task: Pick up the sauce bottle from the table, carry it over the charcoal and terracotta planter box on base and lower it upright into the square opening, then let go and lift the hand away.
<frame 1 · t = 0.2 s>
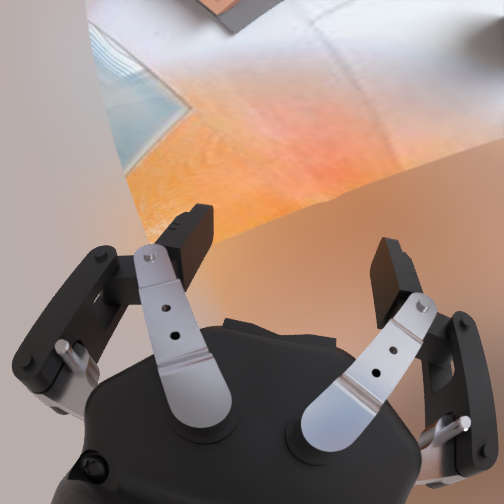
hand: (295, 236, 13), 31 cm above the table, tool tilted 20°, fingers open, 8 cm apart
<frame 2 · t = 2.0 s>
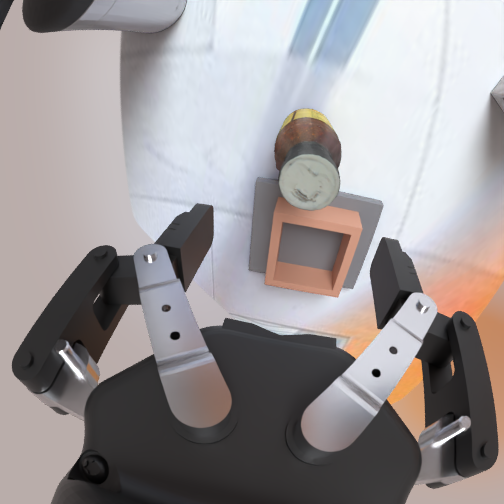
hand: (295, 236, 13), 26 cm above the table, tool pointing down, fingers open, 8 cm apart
sauce bottle: (308, 128, 33), on the table
planter box on base: (311, 235, 42), on the table
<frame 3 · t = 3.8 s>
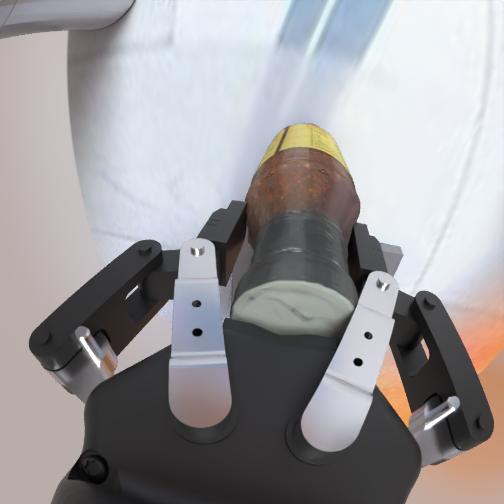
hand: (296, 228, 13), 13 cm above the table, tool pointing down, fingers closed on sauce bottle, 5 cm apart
sauce bottle: (306, 151, 24), on the table, touching gripper
planter box on base: (308, 286, 33), on the table
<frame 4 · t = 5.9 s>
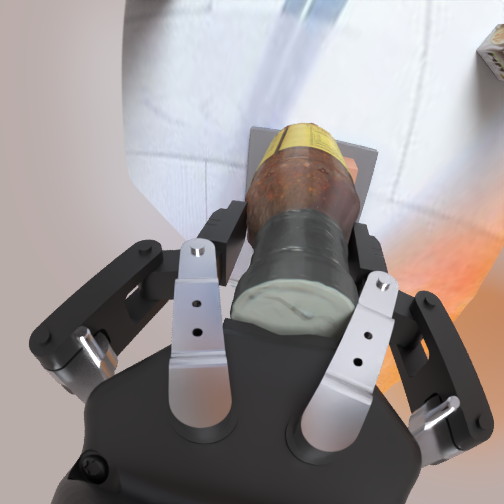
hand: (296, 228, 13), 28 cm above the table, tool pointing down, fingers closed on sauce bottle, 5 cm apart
sauce bottle: (306, 151, 24), point 14 cm above the table, touching gripper
coffee box: (498, 51, 18), on the table
planter box on base: (307, 185, 41), on the table
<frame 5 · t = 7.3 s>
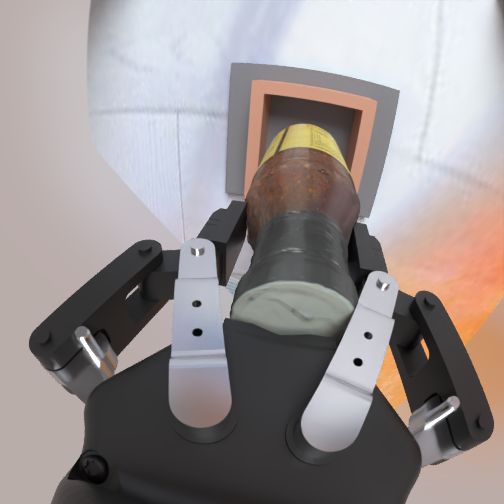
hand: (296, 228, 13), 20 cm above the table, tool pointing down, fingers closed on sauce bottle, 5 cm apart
sauce bottle: (307, 151, 24), point 7 cm above the table, touching gripper
planter box on base: (308, 137, 29), on the table
when the fingers open (16 cm above the table, at t = 8.5 s): sauce bottle drops 1 cm, resting on planter box on base.
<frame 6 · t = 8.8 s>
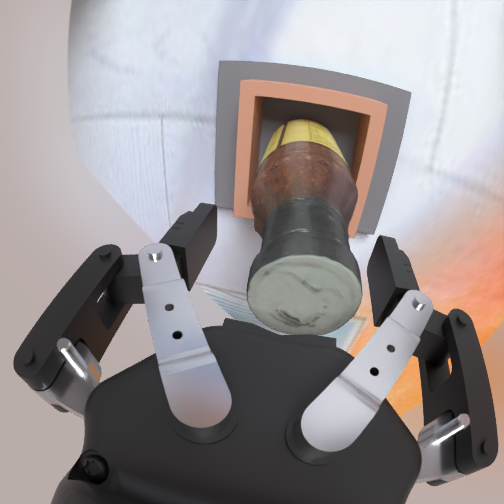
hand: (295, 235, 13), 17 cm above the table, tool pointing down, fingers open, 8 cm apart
sauce bottle: (305, 145, 25), point 1 cm above the table, touching planter box on base
planter box on base: (307, 144, 26), on the table
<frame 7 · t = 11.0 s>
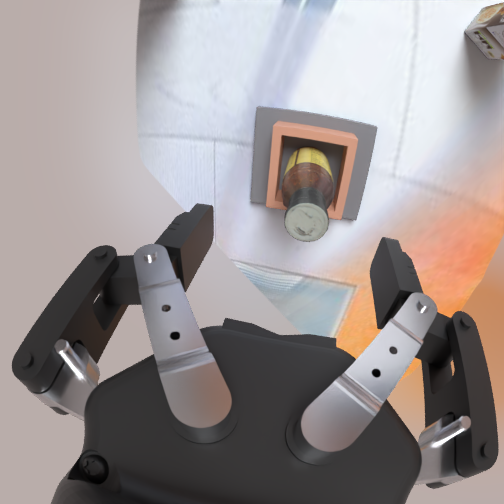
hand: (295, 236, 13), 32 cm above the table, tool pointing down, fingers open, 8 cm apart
sauce bottle: (310, 163, 41), point 1 cm above the table, touching planter box on base
coffee box: (486, 32, 19), on the table
planter box on base: (311, 162, 42), on the table
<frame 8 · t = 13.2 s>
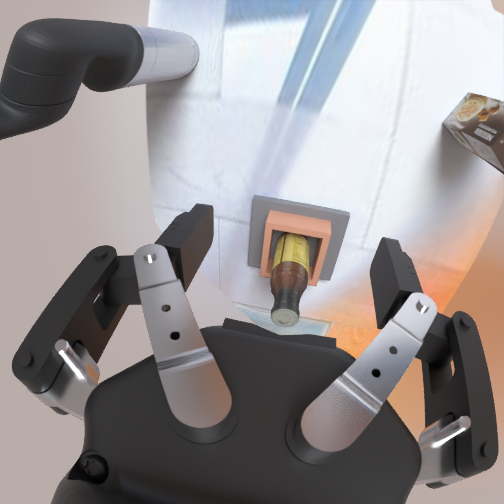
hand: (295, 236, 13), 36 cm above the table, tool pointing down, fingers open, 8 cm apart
sauce bottle: (294, 240, 54), point 1 cm above the table, touching planter box on base
coffee box: (465, 118, 33), on the table
planter box on base: (295, 238, 55), on the table
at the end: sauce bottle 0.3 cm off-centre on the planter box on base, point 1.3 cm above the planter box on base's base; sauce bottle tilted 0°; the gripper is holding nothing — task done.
